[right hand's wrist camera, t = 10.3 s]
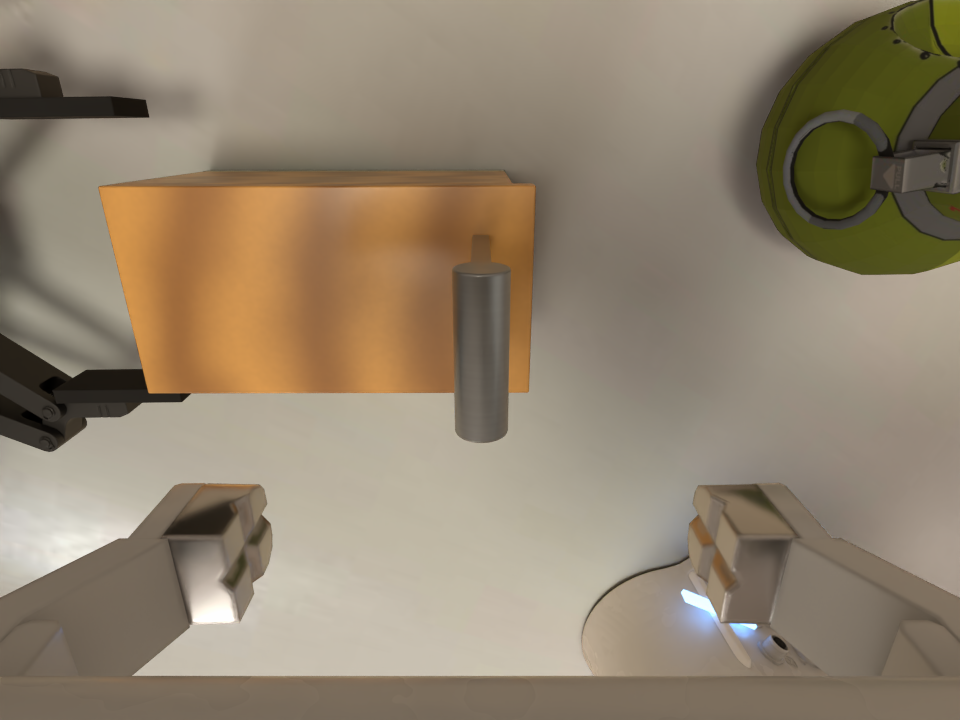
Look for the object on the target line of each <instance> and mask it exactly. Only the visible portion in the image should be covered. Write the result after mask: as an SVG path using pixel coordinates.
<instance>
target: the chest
mask: <svg viewBox="0 0 960 720" xmlns="http://www.w3.org/2000/svg"><path fill="white" fill-rule="evenodd" d="M493 183H512V182H511V180H510V179H509V177H508V176H507V174H506V173H505V170H256V171H203V172H197V173H190V174H183V175H176V176H168V177H161V178H154V179H147V180H140V181H132V182H125V183H118V184H493Z"/></svg>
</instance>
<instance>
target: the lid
mask: <svg viewBox="0 0 960 720" xmlns="http://www.w3.org/2000/svg"><path fill="white" fill-rule="evenodd" d="M99 193H100V197H101V201H102V205H103V209H104V213H105V217H106V221H107V225H108V229H109V233H110V238H111V242H112V246H113V250H114V254H115V258H116V262H117V266H118V270H119V274H120V278H121V283H122V287H123V291H124V295H125V299H126V303H127V307H128V311H129V315H130V319H131V323H132V328H133V332H134V336H135V340H136V344H137V348H138V352H139V356H140V360H141V364H142V368H143V373H144V377H145V381H146V385H147V389H148V392H149V393H454V396H455V431H456V433H457V435H458V436H459V437H461V438H462V439H464V440H467V441H470V442H475V443H488V442H493V441H496V440H499V439H501V438H503V437H504V436H505V435H506V433H507V431H508V396H509V393H519V392H529V374H530V344H531V315H532V285H533V256H534V226H535V197H536V186H535V185H534V184H532V183H493V184H111V185H104V186H99Z"/></svg>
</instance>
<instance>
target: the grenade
mask: <svg viewBox="0 0 960 720" xmlns="http://www.w3.org/2000/svg"><path fill="white" fill-rule="evenodd" d="M756 166H757V173H758V180H759V186H760V193H761V199H762V202H763V204H764V206H765V208H766V210H767V211H768V213H769V215H770V217H771V219H772V221H773V222H774V224H775V226H776V228H777V230H778V231H779V232H780V233H781V234H782V235H783V236H784V237H785V238H786V239H788V240H789V241H790V242H791V243H792V244H794V245H795V246H796V247H797V248H798V249H800V250H801V251H802V252H803V253H804V254H806V255H807V256H809V257H811V258H813V259H815V260H818V261H821V262H824V263H827V264H830V265H833V266H836V267H839V268H842V269H845V270H848V271H851V272H854V273H858V274H861V275H885V274H915V273H920V272H924V271H928V270H932V269H935V268H938V267H941V266H945V265H948V264H951V263H955V262H958V261H960V0H917V1H910V2H908V3H905V4H902V5H900V6H897V7H895V8H892V9H889V10H887V11H884V12H882V13H879V14H876V15H874V16H871V17H868V18H866V19H863V20H860V21H857V22H855V23H853V24H852V25H851V26H849V27H848V28H846V29H845V30H844V31H842V32H841V33H840V34H838V35H837V36H835V37H834V38H833V39H831V40H830V41H829V42H827V43H826V44H824V45H823V46H822V47H820V48H819V49H818V50H816V51H815V52H814V53H812V54H811V55H810V56H808V58H807V59H806V60H805V61H804V62H803V64H802V65H801V66H800V67H799V69H798V70H797V71H796V72H795V74H794V75H793V76H792V77H791V78H790V80H789V81H788V82H787V83H786V85H785V86H784V87H783V88H782V89H781V91H780V92H779V94H778V96H777V98H776V100H775V102H774V105H773V107H772V109H771V111H770V113H769V115H768V118H767V120H766V122H765V124H764V126H763V129H762V132H761V138H760V144H759V151H758V157H757V163H756Z"/></svg>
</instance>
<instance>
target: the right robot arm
mask: <svg viewBox="0 0 960 720" xmlns="http://www.w3.org/2000/svg"><path fill="white" fill-rule="evenodd" d="M266 505H267V500H266V495H265V491H264V488H263V487H262V486H260V485H259V484H211V483H208V484H205V483H181V484H178V485H175V486H174V487H173V488H172V489H171V490H170V491H169V492H168V493H167V495H166V496H165V497H164V498H163V499H162V500H161V501H160V503H159V504H158V505H157V506H156V507H155V508H154V509H153V510H152V512H151V513H150V514H149V515H148V516H147V517H146V518H145V520H144V521H143V522H142V523H141V524H140V525H139V526H138V528H137V529H136V530H135V531H134V532H133V533H132V534H131V535H130V537H129V538H128V539H117V540H115V541H113V542H111V543H109V544H107V545H105V546H103V547H101V548H99V549H97V550H95V551H93V552H91V553H89V554H87V555H85V556H83V557H81V558H79V559H77V560H75V561H73V562H71V563H69V564H67V565H65V566H63V567H61V568H59V569H57V570H55V571H53V572H51V573H49V574H47V575H45V576H43V577H41V578H39V579H37V580H35V581H33V582H31V583H29V584H27V585H25V586H23V587H21V588H19V589H17V590H15V591H13V592H11V593H9V594H7V595H5V596H3V597H1V598H0V720H960V598H959V597H957V596H955V595H953V594H951V593H949V592H947V591H945V590H943V589H941V588H939V587H937V586H935V585H933V584H931V583H929V582H927V581H925V580H923V579H921V578H919V577H917V576H915V575H913V574H911V573H909V572H907V571H905V570H903V569H901V568H899V567H897V566H895V565H893V564H891V563H889V562H887V561H885V560H883V559H881V558H879V557H877V556H875V555H873V554H871V553H869V552H867V551H865V550H863V549H861V548H859V547H857V546H855V545H853V544H851V543H849V542H847V541H845V540H843V539H832V538H831V537H830V535H829V534H828V533H827V532H826V531H825V530H824V529H823V528H822V526H821V525H820V524H819V523H818V522H817V521H816V520H815V518H814V517H813V516H812V515H811V514H810V513H809V512H808V510H807V509H806V508H805V507H804V506H803V505H802V504H801V503H800V501H799V500H798V499H797V498H796V497H795V496H794V495H793V493H792V492H791V491H790V490H789V489H788V488H787V487H786V486H785V485H783V484H780V483H763V484H744V485H698V487H697V489H696V491H695V494H694V500H693V505H694V507H695V509H696V511H697V512H698V514H699V515H698V516H697V517H696V518H695V519H694V520H693V521H692V522H691V523H690V524H689V531H688V538H687V540H688V552H689V557H690V558H688V559H687V560H685V561H683V562H682V563H680V564H678V565H675V566H671V567H668V568H664V569H659V570H655V571H651V572H648V573H645V574H642V575H639V576H637V577H634V578H632V579H630V580H628V581H626V582H624V583H622V584H621V585H619V586H618V587H616V588H615V589H613V590H612V591H611V592H609V593H608V594H607V595H606V596H605V597H604V598H603V599H602V600H601V601H600V602H599V603H598V604H597V605H596V606H595V608H594V609H593V610H592V612H591V613H590V615H589V617H588V619H587V621H586V623H585V626H584V630H583V634H582V650H583V655H584V658H585V661H586V663H587V665H588V666H589V668H590V670H591V671H592V673H593V675H594V676H132V675H133V674H134V673H136V672H137V671H138V670H139V669H140V668H142V667H143V666H144V665H145V664H146V663H148V662H149V661H150V660H151V659H152V658H154V657H155V656H156V655H157V654H158V653H160V652H161V651H162V650H163V649H164V648H166V647H167V646H168V645H169V644H170V643H172V642H173V641H174V640H175V639H176V638H178V637H179V636H180V635H181V634H182V633H183V632H185V631H186V630H187V629H188V628H189V627H190V625H193V624H228V623H240V621H241V619H242V617H243V615H244V613H245V611H246V609H247V607H248V605H249V603H250V601H251V599H252V597H253V595H254V590H253V585H252V583H253V582H254V581H256V580H257V579H258V578H260V577H261V576H263V575H264V573H265V570H266V568H267V566H268V564H269V560H270V555H271V551H272V530H271V524H270V523H269V522H268V521H267V520H266V519H265V518H264V517H263V516H262V515H261V514H262V512H263V511H264V509H265V507H266Z"/></svg>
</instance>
